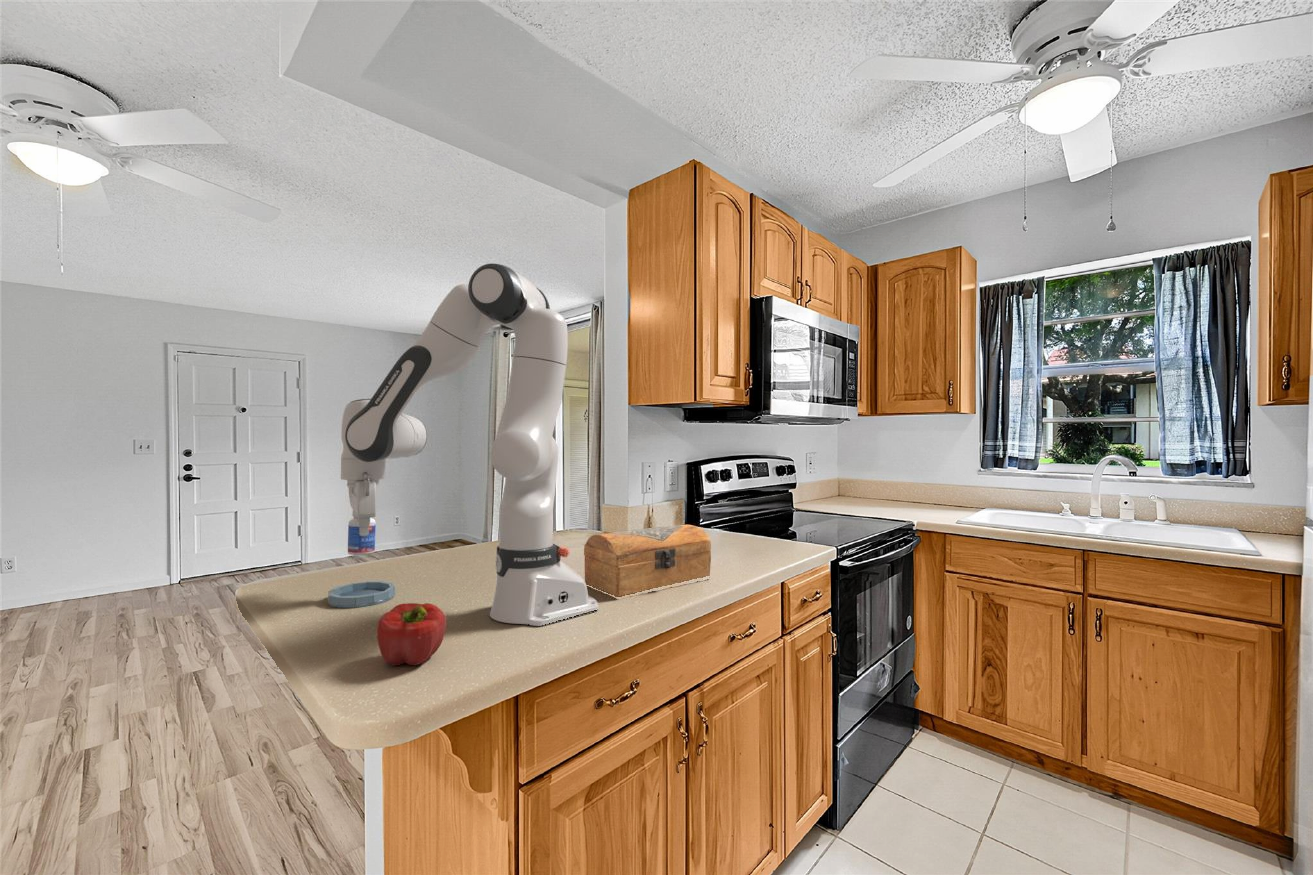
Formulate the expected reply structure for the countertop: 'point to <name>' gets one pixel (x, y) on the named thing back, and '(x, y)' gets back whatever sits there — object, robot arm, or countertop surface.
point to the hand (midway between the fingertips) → (362, 532)
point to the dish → (361, 594)
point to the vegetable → (410, 633)
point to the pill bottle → (360, 538)
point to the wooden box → (646, 558)
